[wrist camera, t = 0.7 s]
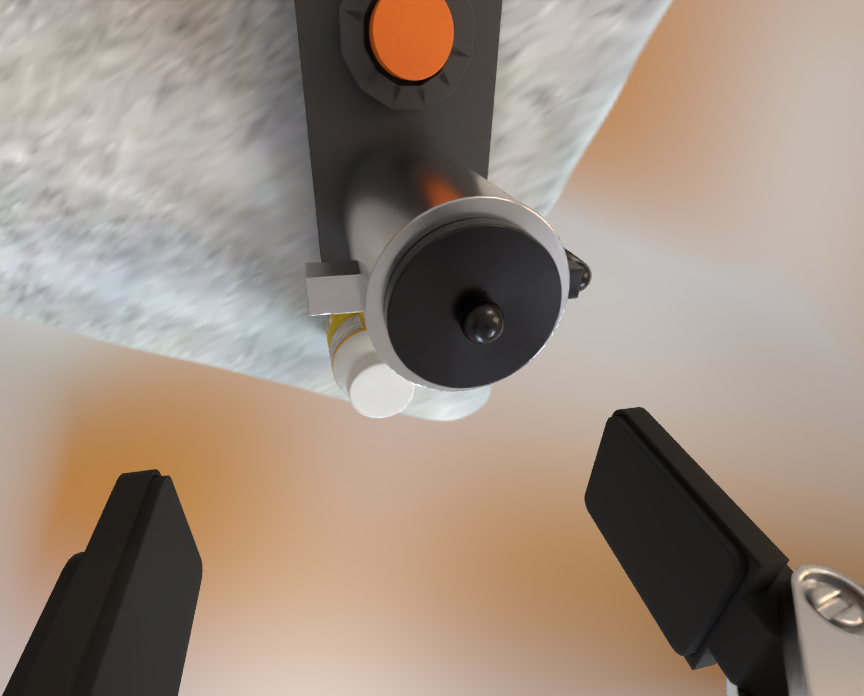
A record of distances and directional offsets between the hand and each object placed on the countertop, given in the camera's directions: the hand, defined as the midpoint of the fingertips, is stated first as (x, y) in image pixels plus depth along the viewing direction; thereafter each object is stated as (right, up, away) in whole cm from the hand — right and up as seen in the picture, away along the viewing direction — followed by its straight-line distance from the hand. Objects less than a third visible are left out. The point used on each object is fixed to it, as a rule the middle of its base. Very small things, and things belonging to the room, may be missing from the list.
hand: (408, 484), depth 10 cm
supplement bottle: (-5, +5, +26) cm, 27 cm away
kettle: (-1, +11, +18) cm, 21 cm away
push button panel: (-2, +17, +19) cm, 26 cm away
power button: (-1, +19, +14) cm, 24 cm away
